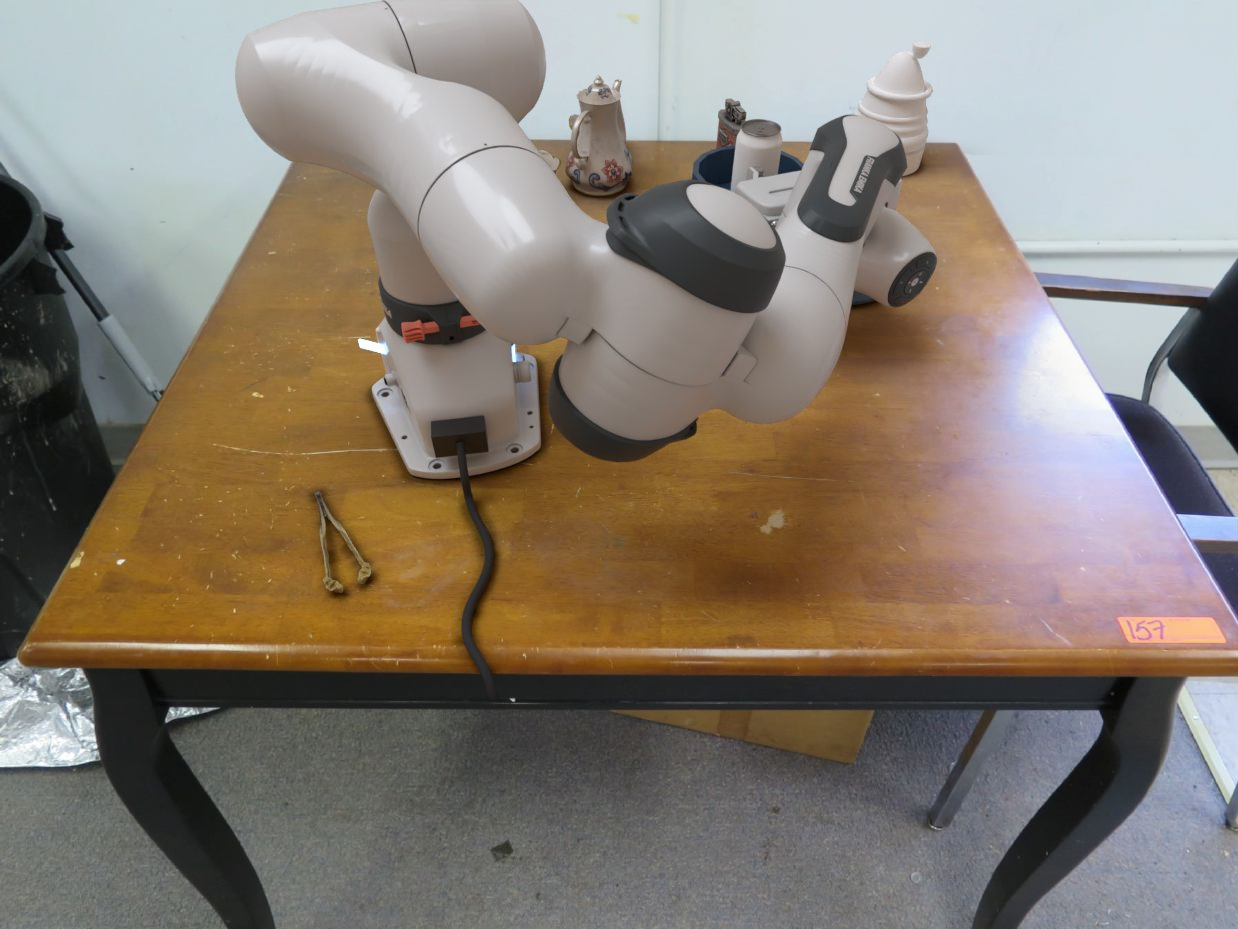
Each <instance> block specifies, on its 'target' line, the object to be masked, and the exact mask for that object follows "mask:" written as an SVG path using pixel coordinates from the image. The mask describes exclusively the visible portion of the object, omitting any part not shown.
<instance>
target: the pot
mask: <svg viewBox="0 0 1238 929" xmlns="http://www.w3.org/2000/svg"><path fill="white" fill-rule="evenodd" d="M735 146H736V145H734V146H726V147H719V148H716V147H715V148H714V149H711V150H707V151H706V152H702V153H701V155H700V156H698V157H697V158H696V160H694V161H693V163H692V175H691V178H690V179H683V180H676V181H675V182H680V181H687V180H699V181H704V182H708V183H711V184H714V185H716V186H719V187H721V188H724V189H727V190H729V191H730V190H731V181H732V172H733V163H734V155H735ZM803 165H804V162H802V160H800V159H799V158H798V157H796V156H794V155H792V154H789V153H788V152H785V151H783V150H781V155H780V161H779V168H778V174H777V175H779V174H784V173H790V172H795V171H801V170H802V167H803Z"/></svg>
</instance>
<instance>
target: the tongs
mask: <svg viewBox="0 0 1238 929" xmlns="http://www.w3.org/2000/svg"><path fill="white" fill-rule="evenodd" d="M314 498H315V500H316V504H317V509H318V514H319V539H320V544H321V551H322V555H323V562H324V564H323V565H324V571H325V576H324V578H323V579H322V582H323V585H324V587H325V589H326V590H327V591H329V592H334V593H340V594H341V593H344V585H343V584H342V583H340V582H339V581H338V580H336V579H333V576H332V571H331V570H332V569H331V565H330V554H329V550H328V545H327V544H328V543H327V532H326V531H327V525H326V517H327V518H328V520H329V521H330V522H331V523H332V525H333V526H334V528H335V529H336V531H338V532H339V534H340V535H341V537H342V538H343V539H344V541H345V543H346V545H347V547H348V549H349V550H350V551H351V552H352V554H353V555H354V557H355V558H356V561H357V562H358V564H359V566H360V568H361V569H360V570H359V571H358V577H357V582H358V583H359V584H360V585H363V584H365V583H366V582H367V580H368V578H369V577H371V576H372V575H371V574H372V567H371V564H370V563H369V562H366V561H365V560H364V559H363V557H362V556H361V554H360V553H359V551H358V550H357V548H356V547H355V546H354V544H353V542H352V540H351V537H350V536H349V535H348V533H347V531H346V529H345V528H344V527H343V525H342V523H340V522H339V521H338V520H337V519H336V517H335V516H334V515H333V513H332V512H331V510H330V508H329V507H328V506H327V503H326V501H325V499H324V497H323V494H322V492H321V491H320V490H317V491H314Z"/></svg>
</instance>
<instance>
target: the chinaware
mask: <svg viewBox="0 0 1238 929" xmlns="http://www.w3.org/2000/svg"><path fill="white" fill-rule="evenodd" d="M604 82H605V80H604V79H602V76H601V75H599V74H598V75H596V76H595V79H593V83H591V84H590V85H589V86H588V87H587V88H583V89H582V90H579V91H578V92H577V94H576V99H577V100H578V104H579V109H580V114H572V115H569V118H568V126H569V129H570V130H571V133H570V134H571V135H570V152H569V154H568V156H567V162H566V165H565V168H564V171H565V175H566V176H567V177H568V178H569V179H570V181H572V186H573V188H574V190H576V191H577V192H579V193H580V194H583V195H586V196H591V197H609V196H614V195H616V194H619V193H621V192H622V191H623V190H625V188H626V187H627V182H628V181H629V180H630V179H631V177H632V175H633V165H634V157H633V156H632V154H631V152H630V150H628V148H627V146H626V144H627V129H626V128H627V127H626V122H625V116H624V113H623V108H622V102H621V98H622V95H621V86H622V82H623V81H622V79H620V78H619V79H618V78H617V79H615V80H614V82H613V83H612V87H611V88H610V86H609V85H608V84H606V83H604ZM537 150H538V151H539V153H540V154H541V155H542V157H543V158H544V159H545V161H546V162H547V163H548V165H549V166H550V168H551V169H552V170H553V172H554V173H555V175H557V171H558V169H559V168H560V166H561V165H562V160H561V159H560V158H559V157H554V156H553V155H552V154H551V153H550V152H549V151H548V150H545V149H537Z"/></svg>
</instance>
